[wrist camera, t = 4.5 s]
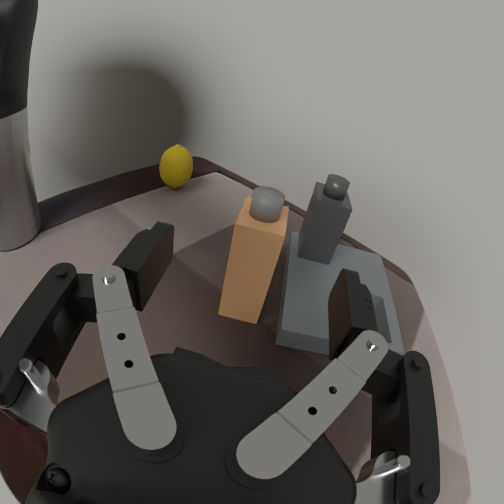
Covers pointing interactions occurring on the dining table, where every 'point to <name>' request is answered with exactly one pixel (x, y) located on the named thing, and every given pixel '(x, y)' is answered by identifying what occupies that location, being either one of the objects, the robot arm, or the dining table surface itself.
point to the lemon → (176, 166)
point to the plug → (253, 254)
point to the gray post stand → (328, 274)
